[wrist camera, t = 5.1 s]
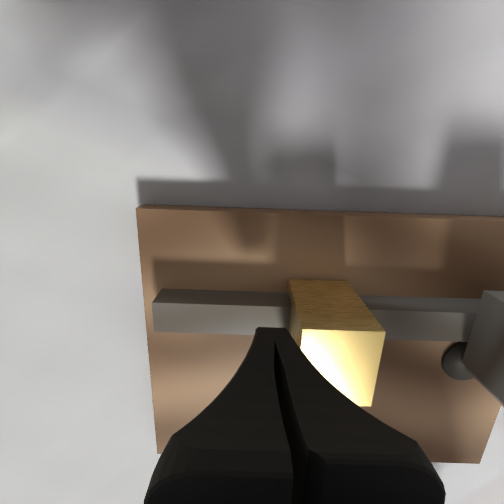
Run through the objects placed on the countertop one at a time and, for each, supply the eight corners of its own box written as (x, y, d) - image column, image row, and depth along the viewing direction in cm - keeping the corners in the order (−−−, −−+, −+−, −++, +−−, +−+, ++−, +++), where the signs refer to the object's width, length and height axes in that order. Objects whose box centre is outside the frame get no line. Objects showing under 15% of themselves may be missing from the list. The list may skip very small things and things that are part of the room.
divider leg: (335, 364, 17) (364, 439, 12) (282, 362, 17) (291, 436, 12) (347, 280, 15) (385, 332, 11) (288, 278, 15) (302, 329, 11)
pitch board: (466, 446, 20) (566, 581, 14) (162, 436, 20) (119, 568, 14) (544, 218, 15) (755, 261, 9) (144, 204, 15) (64, 238, 9)
